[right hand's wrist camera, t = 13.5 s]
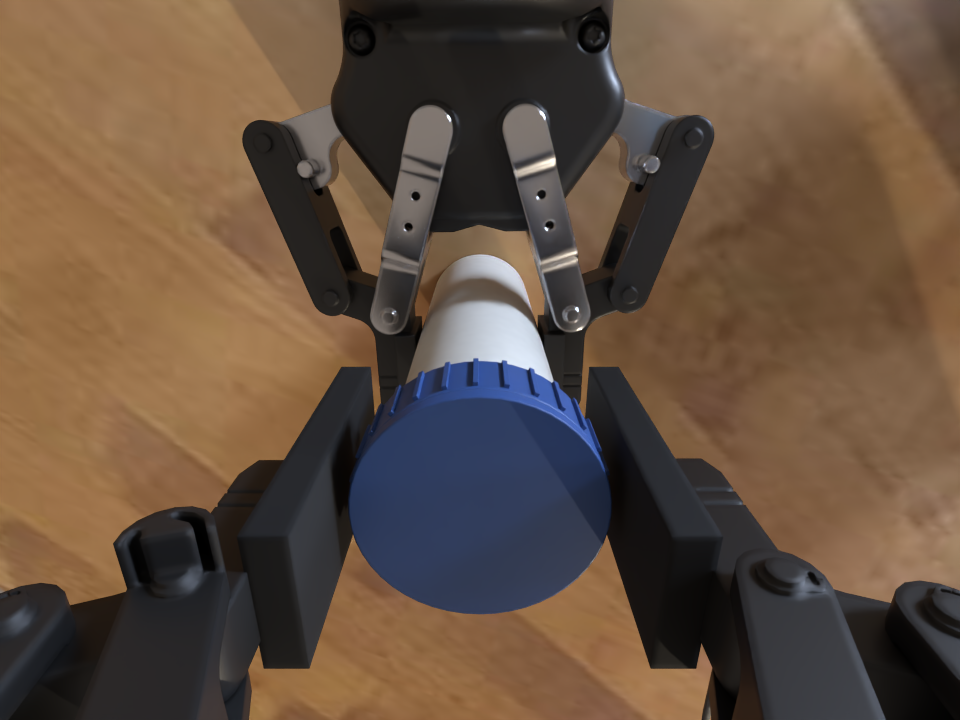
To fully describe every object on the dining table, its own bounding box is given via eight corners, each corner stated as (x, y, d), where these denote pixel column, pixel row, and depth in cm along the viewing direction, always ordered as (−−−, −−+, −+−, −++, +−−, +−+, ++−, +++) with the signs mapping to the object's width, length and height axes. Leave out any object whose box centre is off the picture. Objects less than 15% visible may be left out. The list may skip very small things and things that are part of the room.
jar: (462, 236, 24) (438, 368, 10) (543, 284, 25) (627, 469, 11) (417, 316, 25) (339, 532, 11) (496, 359, 26) (514, 610, 12)
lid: (432, 311, 11) (423, 341, 9) (645, 428, 12) (672, 474, 10) (323, 500, 12) (300, 554, 11) (518, 589, 13) (522, 650, 12)
